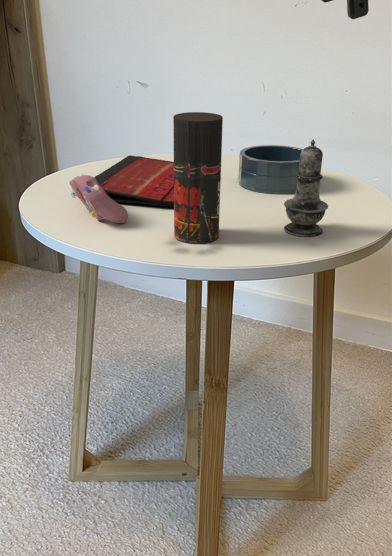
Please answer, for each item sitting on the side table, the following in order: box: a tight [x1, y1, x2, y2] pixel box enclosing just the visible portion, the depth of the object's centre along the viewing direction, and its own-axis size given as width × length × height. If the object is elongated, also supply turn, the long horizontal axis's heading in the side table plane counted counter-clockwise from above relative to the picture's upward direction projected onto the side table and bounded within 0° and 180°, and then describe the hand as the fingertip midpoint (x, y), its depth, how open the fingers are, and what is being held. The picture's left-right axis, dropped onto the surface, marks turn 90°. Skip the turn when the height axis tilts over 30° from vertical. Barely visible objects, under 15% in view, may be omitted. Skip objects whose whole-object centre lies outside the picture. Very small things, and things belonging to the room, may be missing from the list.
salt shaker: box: [283, 138, 329, 238], centre depth 79 cm, size 6×6×12 cm
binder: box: [93, 155, 174, 208], centre depth 98 cm, size 16×2×21 cm
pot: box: [237, 144, 304, 195], centre depth 100 cm, size 12×12×5 cm
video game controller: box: [69, 173, 129, 224], centre depth 84 cm, size 10×5×7 cm, turn 27°
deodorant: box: [172, 111, 224, 245], centre depth 76 cm, size 6×6×15 cm
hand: (343, 8), depth 71 cm, fingers open, 8 cm apart
